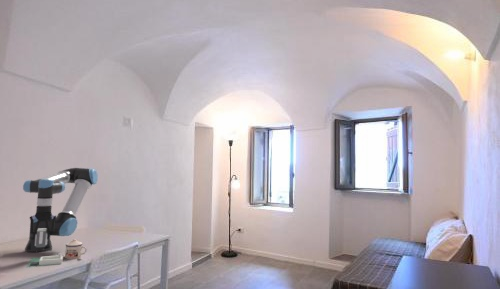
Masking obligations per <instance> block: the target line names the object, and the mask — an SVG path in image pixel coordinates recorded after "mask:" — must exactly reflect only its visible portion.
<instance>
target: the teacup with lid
mask: <svg viewBox="0 0 500 289" xmlns="http://www.w3.org/2000/svg"><path fill="white" fill-rule="evenodd" d="M82 248H84V249H85V250H84V252H82V250H83V249H82ZM87 249H88V248H87V247H86V246H83V242H82V241H78V240H77V239H76V238H74V239H72V240H71V241H69V242H67V243H66V244H65V252H64V258H65V259H68V260H69V259H72V260H73V259H76V260H80V259H81V258H82V255H85V254H86V253H87V251H88V250H87Z"/></svg>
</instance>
